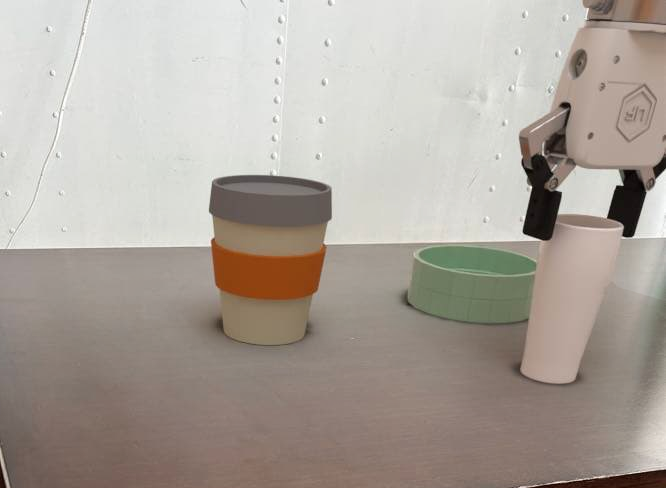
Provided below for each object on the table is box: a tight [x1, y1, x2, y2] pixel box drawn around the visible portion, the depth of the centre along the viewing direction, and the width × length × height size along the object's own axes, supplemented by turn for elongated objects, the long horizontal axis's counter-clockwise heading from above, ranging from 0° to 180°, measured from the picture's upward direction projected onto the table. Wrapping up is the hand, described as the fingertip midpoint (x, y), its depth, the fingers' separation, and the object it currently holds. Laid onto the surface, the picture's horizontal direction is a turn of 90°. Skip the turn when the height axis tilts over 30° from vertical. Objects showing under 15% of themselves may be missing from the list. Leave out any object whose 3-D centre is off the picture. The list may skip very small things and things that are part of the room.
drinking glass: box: [519, 213, 624, 385], centre depth 77 cm, size 7×7×15 cm
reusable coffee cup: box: [208, 174, 333, 346], centre depth 86 cm, size 13×13×15 cm
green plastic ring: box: [407, 244, 537, 324], centre depth 99 cm, size 15×15×6 cm
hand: (578, 235), depth 74 cm, fingers open, 9 cm apart
